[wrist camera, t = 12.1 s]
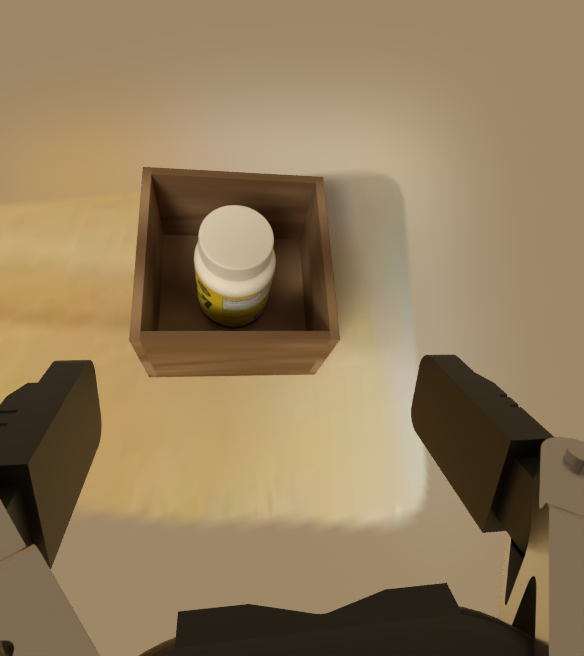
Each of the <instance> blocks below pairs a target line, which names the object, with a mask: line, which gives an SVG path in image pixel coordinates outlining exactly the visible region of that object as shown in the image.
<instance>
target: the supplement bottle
mask: <svg viewBox="0 0 584 656" xmlns="http://www.w3.org/2000/svg"><path fill="white" fill-rule="evenodd" d="M273 244H274V236H273V231H272V228H271V226H270V224H269V223H268V221H267V220H266V219H265V218H264V217H263V216H262V215H261V214H260V213H258V212H257V211H255V210H253V209H251V208H248V207H245V206H239V205H229V206H223V207H220V208H218V209H216V210H214V211H212V212H211V213H210V214H208V215H207V216H206V217H205V219H204V220H203V222H202V224H201V226H200V229H199V235H198V243H197V245H196V248H195V252H194V267H195V275H196V284H197V293H198V301H199V306H200V309H201V311H202V313H203V314H204V316H205V317H206V318H207V320H208V321H209V322H211V323H212V324H213V325H215V326H217V327H219V328H222V329H226V330H241V329H244V328H247V327H249V326H251V325H253V324H254V323H256V322H257V321H258V320H259V319H260V317H261V316H262V314H263V313H264V310H265V308H266V304H267V300H268V296H269V292H270V288H271V284H272V279H273V275H274V272H275V265H276V258H275V253H274V249H273Z"/></svg>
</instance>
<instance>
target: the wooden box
mask: <svg viewBox="0 0 584 656" xmlns="http://www.w3.org/2000/svg"><path fill="white" fill-rule="evenodd" d="M229 205H239V206H245V207H248V208H251V209H253V210H255V211H257V212H258V213H260V214H261V215H262V216H263V217H264V218H265V219H266V220H267V221H268V223H269V224H270V226H271V228H272V231H273V236H274V244H273V249H274V253H275V258H276V265H275V272H274V275H273V279H272V284H271V288H270V292H269V296H268V300H267V304H266V308H265V310H264V313H263V314H262V316H261V317H260V319H259V320H258V321H257V322H256V323H254V324H253V325H251V326H249V327H247V328H244V329H241V330H226V329H222V328H219V327H217V326H215V325H213V324H212V323H211V322H209V321H208V320H207V318H206V317H205V316H204V314H203V313H202V311H201V309H200V306H199V301H198V293H197V284H196V275H195V267H194V252H195V248H196V245H197V243H198V235H199V229H200V226H201V224H202V222H203V220H204V219H205V217H206V216H207V215H208V214H210V213H211V212H212V211H214V210H216V209H218V208H220V207H223V206H229ZM339 340H340V336H339V326H338V317H337V307H336V297H335V288H334V278H333V269H332V259H331V250H330V240H329V231H328V221H327V212H326V202H325V192H324V183H323V177H312V176H294V175H276V174H258V173H240V172H222V171H205V170H186V169H185V170H184V169H169V168H151V167H143V174H142V187H141V198H140V211H139V224H138V236H137V249H136V261H135V274H134V287H133V299H132V312H131V324H130V337H129V341H130V343H131V344H132V346H133V348H134V350H135V352H136V354H137V355H138V357H139V359H140V361H141V363H142V364H143V366H144V368H145V370H146V372H147V373H148V375H149V377H185V376H243V375H301V374H315V373H316V372H317V370H318V369H319V368H320V366H321V365H322V364H323V362H324V361H325V359H326V358H327V357H328V355H329V354H330V352H331V351H332V350H333V348H334V347H335V346H336V344H337V343H338V341H339Z"/></svg>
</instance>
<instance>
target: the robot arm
mask: <svg viewBox="0 0 584 656" xmlns="http://www.w3.org/2000/svg"><path fill="white" fill-rule="evenodd" d="M411 418H412V423H413V427H414V429H415V431H416V433H417V435H418V436H419V438H420V439H421V441H422V442H423V444H424V445H425V447H426V448H427V450H428V451H429V453H430V454H431V456H432V457H433V459H434V460H435V461H436V463H437V465H438V466H439V467H440V469H441V471H442V472H443V474H444V475H445V477H446V478H447V480H448V481H449V483H450V484H451V486H452V487H453V489H454V490H455V492H456V493H457V495H458V496H459V497H460V499H461V501H462V502H463V504H464V505H465V507H466V508H467V509H468V511H469V513H470V514H471V516H472V517H473V519H474V520H475V522H476V523H477V525H478V526H479V528H480V529H481V531H482V532H483V533H486V532H497V531H507V532H508V534H509V535H510V538H509V541H508V544H507V547H506V551H505V560H504V569H503V579H502V587H501V596H500V605H499V614H498V618H495V617H492V616H490V615H487V614H484V613H482V612H479V611H475V610H472V609H468V608H464V607H459V606H458V604H457V602H456V601H455V599H454V597H453V595H452V593H451V591H450V589H449V587H448V585H447V583H443V584H434V585H424V586H415V587H405V588H397V589H386V590H383V591H381V592H378V593H376V594H374V595H371V596H369V597H366V598H364V599H362V600H359V601H357V602H354V603H351V604H349V605H347V606H344V607H342V608H339V609H337V610H334V611H332V612H329V613H326V614H312V613H305V612H299V611H292V610H285V609H279V608H272V607H265V606H258V605H252V604H251V605H250V604H246V605H237V606H227V607H218V608H209V609H199V610H190V611H180V612H178V619H177V631H176V637H175V638H173V639H170V640H168V641H165V642H163V643H161V644H159V645H157V646H155V647H153V648H151V649H149V650H147V651H145V652H144V653H143V654H141V655H139V656H584V442H582V441H579V440H575V439H570V438H564V437H563V438H562V437H553V436H552V435H551V434H550V433H549V432H548V431H547V430H546V429H545V428H543V427H542V426H541V425H540V424H539V423H538V422H537V421H536V420H535V419H533V418H532V417H531V416H530V415H529V414H528V413H527V412H526V411H525V410H523V409H522V408H521V407H518V404H517V403H516V402H514V401H513V400H512V399H511V398H510V397H507V394H506V393H505V392H504V391H502V390H501V389H500V388H499V387H498V386H497V385H496V384H495V383H493V382H491V381H489V380H488V379H486V378H484V377H482V376H480V375H478V374H476V373H475V372H473V371H472V370H471V369H470V368H469V367H468V366H467V365H466V364H465V363H464V362H463V361H462V360H461V359H459V358H458V357H457V356H456V355H426V356H424V357H423V358H422V360H421V362H420V366H419V371H418V376H417V381H416V387H415V392H414V397H413V402H412V408H411ZM100 437H101V413H100V406H99V398H98V390H97V383H96V375H95V369H94V365H93V363H92V361H91V360H71V361H54V362H53V363H52V364H51V366H50V367H49V368H48V370H47V371H46V373H45V374H44V375H43V377H42V378H41V379H40V381H39V382H38V383H27V384H25V385H24V386H22V387H21V388H19V389H18V390H16V391H14V392H13V393H11V394H10V395H8V396H7V397H6V398H5V399H4V401H3V402H2V403H1V404H0V656H100V655H99V653H98V651H97V650H96V648H95V646H94V644H93V643H92V641H91V639H90V637H89V636H88V634H87V632H86V630H85V629H84V627H83V625H82V624H81V622H80V620H79V618H78V617H77V615H76V613H75V611H74V610H73V608H72V606H71V605H70V603H69V601H68V599H67V598H66V596H65V594H64V592H63V591H62V589H61V587H60V585H59V584H58V582H57V580H56V579H55V577H54V575H53V573H52V572H51V570H50V569H51V567H52V565H53V562H54V560H55V557H56V554H57V552H58V549H59V547H60V544H61V542H62V539H63V536H64V534H65V531H66V528H67V526H68V523H69V521H70V518H71V516H72V513H73V510H74V508H75V505H76V503H77V500H78V498H79V495H80V492H81V490H82V487H83V485H84V482H85V479H86V477H87V474H88V472H89V469H90V466H91V464H92V461H93V459H94V456H95V453H96V451H97V448H98V446H99V442H100Z"/></svg>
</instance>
